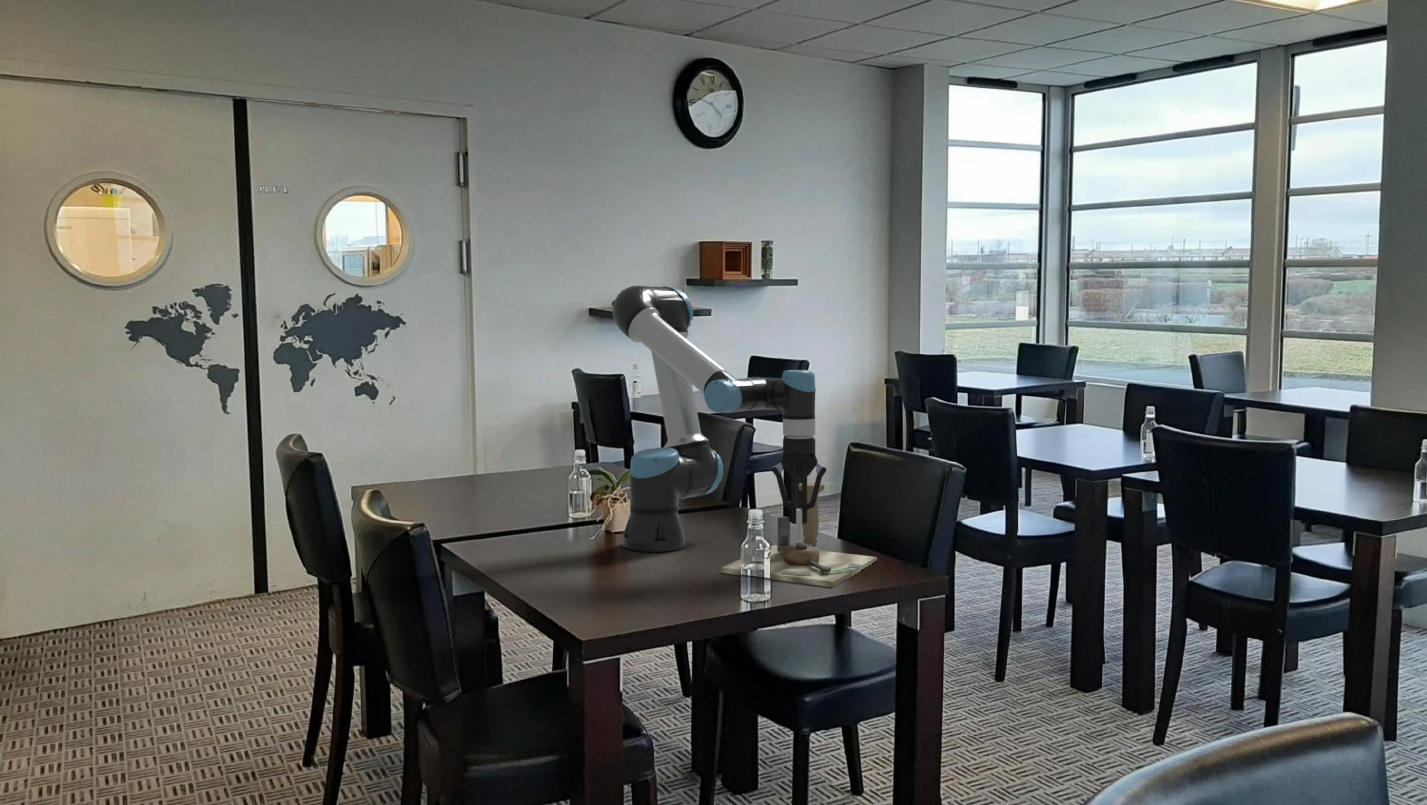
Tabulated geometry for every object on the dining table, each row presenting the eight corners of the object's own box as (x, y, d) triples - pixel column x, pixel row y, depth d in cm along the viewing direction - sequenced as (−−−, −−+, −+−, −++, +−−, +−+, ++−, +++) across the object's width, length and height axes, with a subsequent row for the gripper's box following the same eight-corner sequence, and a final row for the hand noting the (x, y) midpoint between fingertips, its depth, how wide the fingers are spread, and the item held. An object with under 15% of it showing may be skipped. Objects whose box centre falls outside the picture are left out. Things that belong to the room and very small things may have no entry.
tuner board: (721, 572, 243) (721, 566, 243) (773, 550, 268) (773, 544, 267) (834, 587, 231) (834, 580, 231) (878, 562, 256) (878, 556, 255)
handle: (826, 545, 274) (827, 485, 273) (802, 547, 272) (804, 486, 270) (817, 541, 278) (818, 482, 277) (794, 543, 276) (795, 483, 275)
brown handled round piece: (844, 572, 238) (845, 536, 237) (810, 575, 235) (811, 537, 234) (796, 549, 261) (797, 516, 261) (765, 551, 258) (765, 517, 258)
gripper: (827, 435, 260) (826, 534, 262) (772, 435, 262) (772, 534, 263) (827, 438, 253) (827, 540, 255) (770, 438, 254) (770, 540, 256)
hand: (799, 537), depth 259 cm, fingers closed
